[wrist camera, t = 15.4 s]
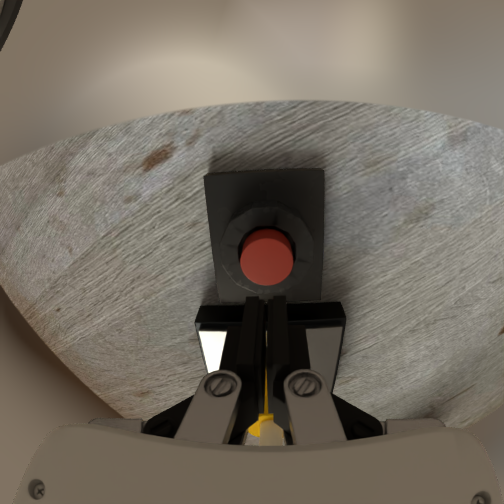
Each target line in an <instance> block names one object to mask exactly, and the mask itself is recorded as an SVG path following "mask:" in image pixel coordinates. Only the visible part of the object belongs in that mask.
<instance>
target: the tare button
mask: <svg viewBox="0 0 504 504" xmlns="http://www.w3.org/2000/svg"><path fill="white" fill-rule="evenodd" d="M240 264H241V268H242V271H243V273H244V274H245V276H246V277H247V278H248V279H249V280H251V281H252V282H254V283H257V284H260V285H274V284H277V283H280V282H281V281H283V280H284V279H285V278H286V277H287V276H288V275H289V274H290V272H291V270H292V267H293V255H292V249H291V245H290V242H289V240H288V239H287V237H286V236H285V235H284V234H282V233H281V232H279V231H277V230H274V229H268V228H265V229H260V230H257V231H255V232H253V233H252V234H250V235H249V236H248V237H247V239H246V240H245V242H244V245H243V249H242V253H241V258H240Z"/></svg>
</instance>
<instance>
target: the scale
mask: <svg viewBox="0 0 504 504" xmlns="http://www.w3.org/2000/svg"><path fill="white" fill-rule="evenodd" d="M244 307H245V305H226V306H200V308H199V311H198V314H197V316H196V319H195V327H196V331H197V336H198V340H199V344H200V348H201V352H202V356H203V360H204V364H205V368H206V372H207V374H208V373H210V372H212V371H216V370H219V365H220V360H221V356H222V351H223V346H224V341H225V337H226V332H227V328H228V326H242V320H243V313H244ZM287 319H288V325H305V328H306V335H307V343H308V350H309V358H310V366H311V370H314V371H316V372H319V373H320V374H321V375H322V376H323V377H324V379H325V380H326V383H327V386H328V388H329V391H330V392H331V393H333V389H334V385H335V380H336V375H337V370H338V365H339V360H340V354H341V349H342V343H343V337H344V331H345V325H346V315H345V312H344V310H343V307H342V304H341V302H324V303H303V304H287ZM267 320H268V305H265V324H266V345H267Z"/></svg>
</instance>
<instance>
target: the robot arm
mask: <svg viewBox="0 0 504 504" xmlns="http://www.w3.org/2000/svg"><path fill="white" fill-rule="evenodd" d="M3 5H4V0H0V15H1V12H2V9H3ZM266 376H267V396H268V414H273V422H274V423H275V424H277V425H278V426H279V427H281V428H282V429H283V432H282V433H283V438H284V443H285V446H250V445H245V442H246V439H247V435H248V429H249V427H250V426H252V425H253V424H254V423H256V422H257V421H258V420H259V414H264V405H265V382H266ZM12 504H504V502H503V498H502V494H501V490H500V487H499V483H498V479H497V477H496V474H495V471H494V468H493V466H492V463H491V461H490V458H489V456H488V454H487V452H486V450H485V448H484V447H483V445H482V443H481V442H480V440H479V439H478V438H477V437H476V436H475V435H474V434H473V433H472V432H470V431H468V430H465V429H461V428H454V427H446V426H445V424H444V423H443V422H442V421H440V420H438V419H435V418H422V419H387V420H386V421H379V420H377V419H376V418H375V417H373V416H371V415H369V414H367V413H366V412H364V411H362V410H360V409H359V408H357V407H355V406H353V405H351V404H350V403H348V402H346V401H345V400H343V399H341V398H339V397H338V396H336V395H334V394H333V393H331V392H330V391H329V388H328V386H327V383H326V380H325V379H324V377H323V376H322V375H321V374H320V373H319V372H316V371H314V370H311V366H310V358H309V350H308V343H307V335H306V328H305V325H288V319H287V304H286V295H280V296H273V299H268V320H267V345H266V324H265V304H264V299H259V296H246V300H245V307H244V313H243V320H242V326H228V328H227V332H226V337H225V341H224V346H223V351H222V356H221V360H220V365H219V370H216V371H212V372H210V373H208V374H207V375H205V376H204V377H203V379H202V380H201V382H200V384H199V386H198V388H197V390H196V392H195V394H194V395H193V396H191V397H189V398H187V399H185V400H184V401H182V402H180V403H178V404H176V405H175V406H173V407H171V408H169V409H167V410H165V411H163V412H161V413H160V414H158V415H156V416H154V417H152V418H151V419H149V420H148V421H143V420H142V419H115V418H96V419H93V420H92V421H90V422H89V423H88V424H68V425H63V426H59V427H57V428H55V429H53V430H52V431H51V432H50V433H49V434H48V435H47V436H46V437H45V438H44V440H43V441H42V443H41V444H40V445H39V447H38V449H37V451H36V452H35V454H34V456H33V458H32V460H31V462H30V464H29V465H28V467H27V469H26V472H25V474H24V476H23V478H22V481H21V483H20V486H19V488H18V491H17V493H16V496H15V498H14V501H13V503H12Z"/></svg>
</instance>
